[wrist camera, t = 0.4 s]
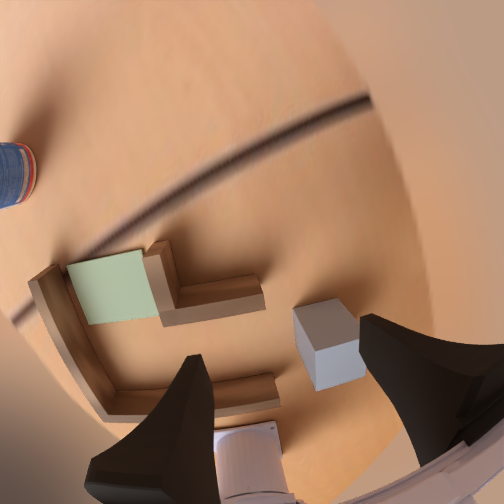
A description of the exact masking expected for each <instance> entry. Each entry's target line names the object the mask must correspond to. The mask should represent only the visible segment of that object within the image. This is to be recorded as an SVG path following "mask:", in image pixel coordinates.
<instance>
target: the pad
mask: <svg viewBox="0 0 504 504" xmlns="http://www.w3.org/2000/svg"><path fill="white" fill-rule="evenodd" d="M143 256H144V255H143V251H142V249H138V250H134V251H129V252H124V253H119V254H115V255H110V256H106V257H101V258H96V259H92V260H88V261H83V262H79V263H74V264H70V265H67V269H68V272H69V275H70V278H71V281H72V284H73V287H74V289H75V292H76V295H77V297H78V300H79V302H80V305H81V307H82V310H83V312H84V315H85V317H86V319H87V322H88V324H89V325H93V324H102V323H110V322H118V321H125V320H133V319H140V318H147V317H154V316H159V313H158V310H157V307H156V304H155V301H154V298H153V295H152V292H151V288H150V285H149V282H148V279H147V275H146V272H145V268H144V265H143V261H142V257H143Z"/></svg>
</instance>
